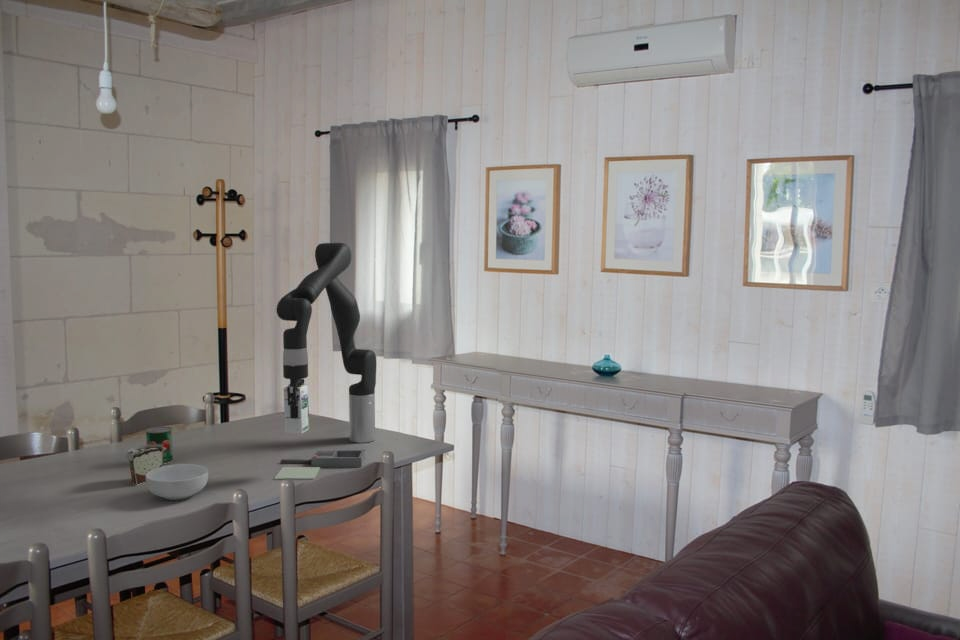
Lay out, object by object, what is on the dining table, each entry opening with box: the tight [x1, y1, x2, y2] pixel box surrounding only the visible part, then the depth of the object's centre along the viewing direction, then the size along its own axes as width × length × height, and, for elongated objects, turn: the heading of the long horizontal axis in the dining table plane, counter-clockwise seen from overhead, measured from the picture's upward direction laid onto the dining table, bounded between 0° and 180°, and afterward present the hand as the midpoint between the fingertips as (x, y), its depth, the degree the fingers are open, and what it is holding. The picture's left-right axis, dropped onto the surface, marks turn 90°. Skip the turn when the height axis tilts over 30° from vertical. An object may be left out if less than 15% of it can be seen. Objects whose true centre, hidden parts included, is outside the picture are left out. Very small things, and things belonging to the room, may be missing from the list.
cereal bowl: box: [145, 463, 209, 501], centre depth 235 cm, size 17×17×7 cm
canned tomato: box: [145, 426, 174, 465], centre depth 270 cm, size 8×8×11 cm
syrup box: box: [283, 384, 310, 435], centre depth 255 cm, size 6×6×14 cm
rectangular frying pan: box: [279, 449, 366, 468], centre depth 269 cm, size 10×27×3 cm, turn 91°
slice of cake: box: [125, 444, 165, 486], centre depth 250 cm, size 12×6×10 cm, turn 152°
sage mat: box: [273, 466, 321, 481], centre depth 257 cm, size 12×12×1 cm
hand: (296, 415), depth 255 cm, fingers closed on syrup box, 6 cm apart
